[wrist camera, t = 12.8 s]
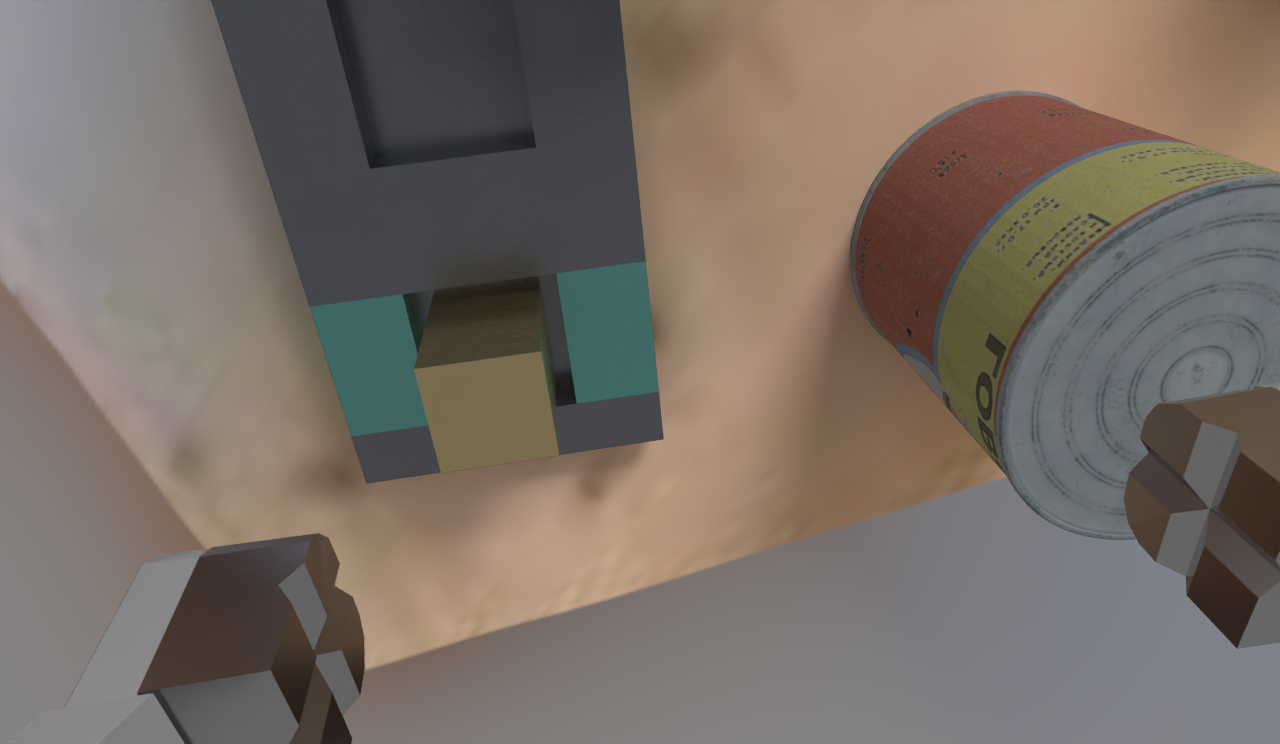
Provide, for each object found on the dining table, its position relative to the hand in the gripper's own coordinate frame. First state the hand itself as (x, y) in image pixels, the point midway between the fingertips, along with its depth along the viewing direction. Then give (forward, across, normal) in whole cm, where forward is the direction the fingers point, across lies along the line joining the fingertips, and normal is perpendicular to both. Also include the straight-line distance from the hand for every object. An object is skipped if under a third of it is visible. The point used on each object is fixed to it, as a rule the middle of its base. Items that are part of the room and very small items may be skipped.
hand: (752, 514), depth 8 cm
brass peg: (+22, +5, +10) cm, 25 cm away
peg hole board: (+23, +5, +4) cm, 24 cm away
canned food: (+23, -15, +8) cm, 29 cm away
